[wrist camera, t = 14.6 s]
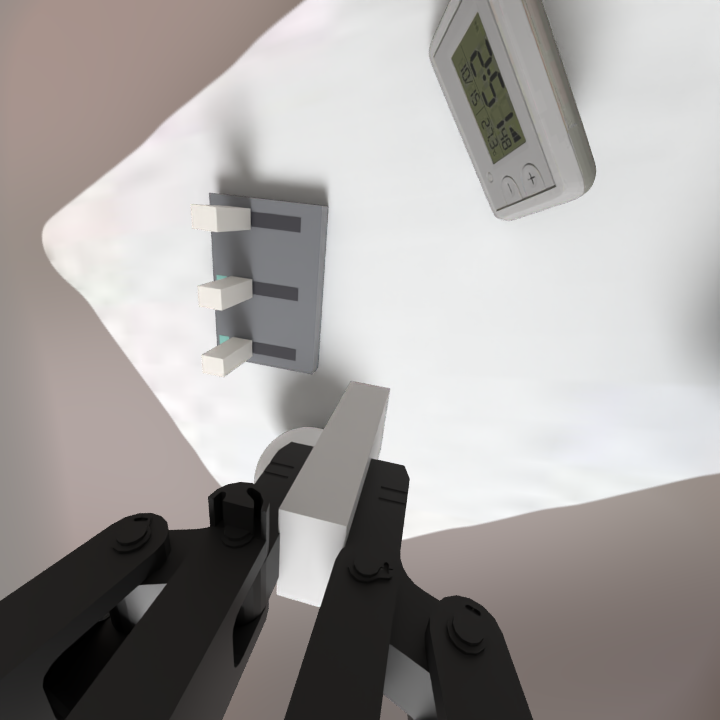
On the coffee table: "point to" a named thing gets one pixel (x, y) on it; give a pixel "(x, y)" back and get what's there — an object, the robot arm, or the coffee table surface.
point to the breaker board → (274, 280)
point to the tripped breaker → (224, 292)
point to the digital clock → (512, 104)
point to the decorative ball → (296, 435)
